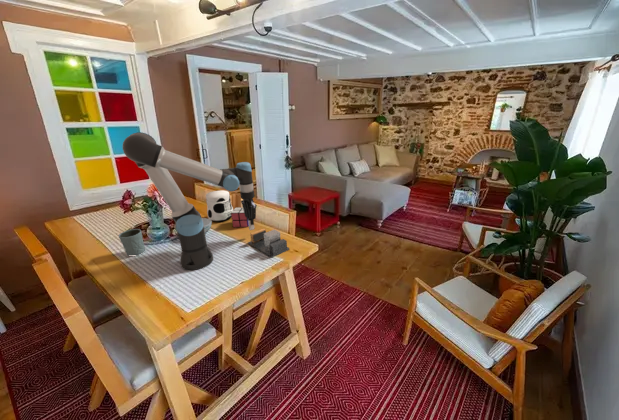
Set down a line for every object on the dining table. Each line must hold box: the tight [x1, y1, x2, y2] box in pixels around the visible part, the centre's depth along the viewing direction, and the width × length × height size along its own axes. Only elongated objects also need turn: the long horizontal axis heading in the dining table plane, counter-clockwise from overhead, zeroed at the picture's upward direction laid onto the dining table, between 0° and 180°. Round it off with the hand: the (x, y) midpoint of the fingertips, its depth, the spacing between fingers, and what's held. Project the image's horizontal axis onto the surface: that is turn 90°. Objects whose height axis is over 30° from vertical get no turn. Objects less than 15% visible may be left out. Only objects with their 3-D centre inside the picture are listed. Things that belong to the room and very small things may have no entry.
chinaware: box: [201, 217, 213, 236], centre depth 164 cm, size 15×15×8 cm
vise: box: [247, 238, 290, 259], centre depth 147 cm, size 12×22×6 cm, turn 43°
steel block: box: [264, 229, 282, 251], centre depth 143 cm, size 7×5×9 cm
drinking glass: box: [118, 228, 146, 256], centre depth 144 cm, size 10×10×12 cm
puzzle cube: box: [231, 207, 249, 228], centre depth 177 cm, size 10×10×10 cm
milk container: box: [205, 189, 234, 222], centre depth 186 cm, size 17×17×18 cm
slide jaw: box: [250, 228, 267, 242], centre depth 153 cm, size 9×2×5 cm, turn 133°
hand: (251, 229), depth 158 cm, fingers closed
